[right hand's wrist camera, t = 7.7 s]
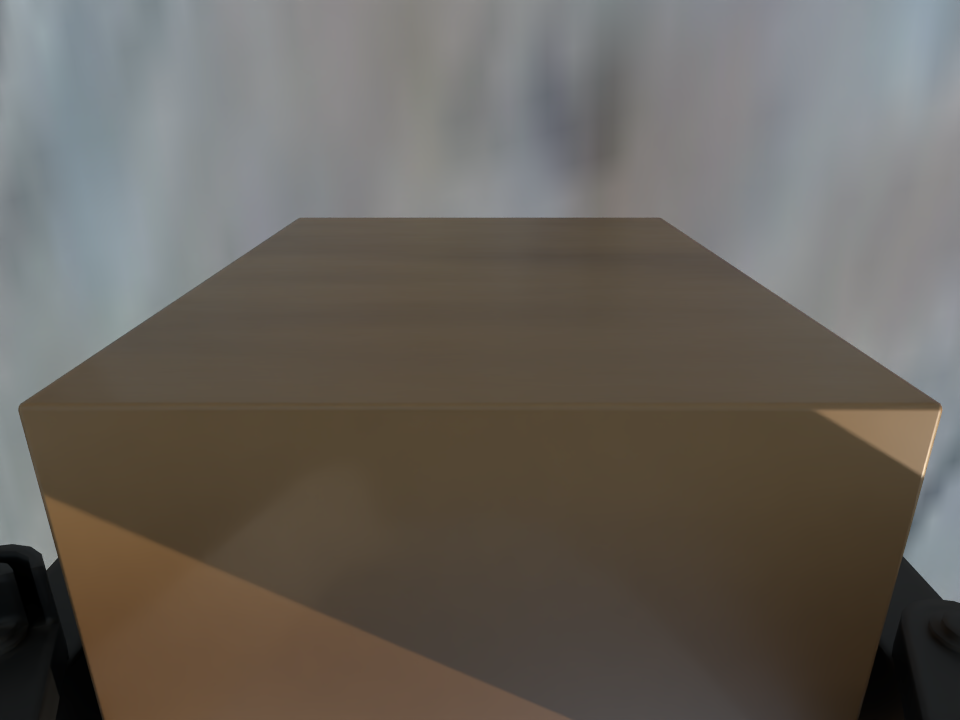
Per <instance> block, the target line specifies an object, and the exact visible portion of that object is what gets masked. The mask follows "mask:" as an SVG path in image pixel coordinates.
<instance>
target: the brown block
mask: <svg viewBox="0 0 960 720" xmlns="http://www.w3.org/2000/svg"><path fill="white" fill-rule="evenodd" d="M941 413H942V406H941V404H940V403H938V402H937V401H935V400H934V399H932V398H931V397H929V396H928V395H926V394H925V393H923V392H922V391H920V390H919V389H917V388H916V387H914V386H913V385H911V384H910V383H908V382H907V381H905V380H904V379H902V378H901V377H899V376H898V375H896V374H895V373H893V372H892V371H890V370H889V369H887V368H886V367H884V366H883V365H881V364H880V363H878V362H877V361H875V360H874V359H872V358H871V357H869V356H868V355H866V354H865V353H863V352H862V351H860V350H859V349H857V348H856V347H854V346H853V345H851V344H850V343H848V342H847V341H845V340H844V339H842V338H841V337H839V336H838V335H836V334H835V333H833V332H832V331H830V330H829V329H827V328H826V327H824V326H822V325H821V324H819V323H818V322H816V321H815V320H813V319H812V318H810V317H809V316H807V315H806V314H804V313H803V312H801V311H800V310H798V309H797V308H795V307H794V306H792V305H791V304H789V303H788V302H786V301H785V300H783V299H782V298H780V297H779V296H777V295H776V294H774V293H773V292H771V291H770V290H768V289H767V288H765V287H764V286H762V285H761V284H759V283H758V282H756V281H755V280H753V279H752V278H750V277H749V276H747V275H746V274H744V273H743V272H741V271H740V270H738V269H737V268H735V267H734V266H732V265H731V264H729V263H728V262H726V261H725V260H723V259H722V258H720V257H719V256H717V255H716V254H714V253H713V252H711V251H710V250H708V249H707V248H705V247H704V246H702V245H701V244H699V243H698V242H696V241H695V240H693V239H692V238H690V237H689V236H687V235H686V234H684V233H683V232H681V231H680V230H678V229H677V228H675V227H674V226H672V225H671V224H669V223H668V222H666V221H665V220H663V219H661V218H299V219H297V220H295V221H294V222H292V223H291V224H289V225H288V226H286V227H285V228H283V229H282V230H280V231H279V232H277V233H276V234H274V235H273V236H271V237H270V238H268V239H267V240H265V241H264V242H262V243H261V244H259V245H258V246H256V247H255V248H253V249H252V250H250V251H249V252H247V253H246V254H244V255H243V256H241V257H240V258H238V259H237V260H235V261H234V262H232V263H231V264H229V265H228V266H226V267H225V268H223V269H222V270H220V271H219V272H217V273H216V274H214V275H213V276H211V277H210V278H208V279H207V280H205V281H204V282H202V283H201V284H200V285H198V286H197V287H195V288H194V289H192V290H191V291H189V292H188V293H186V294H185V295H183V296H182V297H180V298H179V299H177V300H176V301H174V302H173V303H171V304H170V305H168V306H167V307H165V308H164V309H162V310H161V311H159V312H158V313H156V314H155V315H153V316H152V317H150V318H149V319H147V320H146V321H144V322H143V323H141V324H140V325H138V326H137V327H135V328H134V329H132V330H131V331H129V332H128V333H126V334H125V335H123V336H122V337H120V338H119V339H117V340H116V341H114V342H113V343H111V344H110V345H108V346H107V347H105V348H104V349H102V350H101V351H99V352H98V353H96V354H95V355H93V356H92V357H90V358H89V359H87V360H86V361H84V362H83V363H81V364H80V365H78V366H77V367H75V368H74V369H72V370H71V371H69V372H68V373H66V374H65V375H63V376H62V377H60V378H59V379H57V380H56V381H54V382H53V383H51V384H50V385H48V386H47V387H45V388H44V389H42V390H41V391H39V392H38V393H36V394H35V395H33V396H32V397H30V398H29V399H27V400H26V401H24V402H23V403H21V404H20V406H19V415H20V418H21V422H22V426H23V429H24V433H25V437H26V440H27V444H28V448H29V451H30V455H31V459H32V462H33V466H34V470H35V474H36V477H37V481H38V485H39V488H40V492H41V496H42V499H43V503H44V507H45V510H46V514H47V518H48V521H49V525H50V529H51V532H52V536H53V540H54V543H55V547H56V551H57V555H58V558H59V562H60V566H61V569H62V573H63V577H64V580H65V584H66V588H67V591H68V595H69V599H70V602H71V606H72V610H73V613H74V617H75V621H76V624H77V628H78V632H79V636H80V639H81V643H82V647H83V650H84V654H85V658H86V661H87V665H88V669H89V672H90V676H91V680H92V683H93V687H94V691H95V694H96V698H97V702H98V705H99V709H100V713H101V717H102V720H858V719H859V715H860V711H861V708H862V704H863V700H864V696H865V693H866V689H867V685H868V682H869V678H870V674H871V671H872V667H873V663H874V660H875V656H876V652H877V649H878V645H879V641H880V638H881V634H882V630H883V627H884V623H885V619H886V616H887V612H888V608H889V605H890V601H891V597H892V594H893V590H894V586H895V582H896V579H897V575H898V571H899V568H900V564H901V560H902V557H903V553H904V549H905V546H906V542H907V538H908V535H909V531H910V527H911V524H912V520H913V516H914V513H915V509H916V505H917V502H918V498H919V494H920V491H921V487H922V483H923V480H924V476H925V472H926V469H927V465H928V461H929V457H930V454H931V450H932V446H933V443H934V439H935V435H936V432H937V428H938V424H939V421H940V417H941Z"/></svg>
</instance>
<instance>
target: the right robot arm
mask: <svg viewBox="0 0 960 720" xmlns="http://www.w3.org/2000/svg"><path fill="white" fill-rule="evenodd" d="M0 720H102V717H101V713H100V709H99V705H98V702H97V698H96V694H95V691H94V687H93V683H92V680H91V676H90V672H89V669H88V665H87V661H86V658H85V654H84V650H83V647H82V643H81V639H80V636H79V632H78V628H77V624H76V621H75V617H74V613H73V610H72V606H71V602H70V599H69V595H68V591H67V588H66V584H65V580H64V577H63V573H62V569H61V566H60V562H59V558H57V560H56V561H55V562H54V563H53V564H52V565H51V566H50V567H49V568H48V569H47V570H46V568H45V565H44V561H43V558H42V554H41V553H39V552H38V551H36V550H35V549H33V548H32V547H29V546H22V545H15V544H10V545H1V546H0ZM858 720H960V603H958V602H955V601H948V600H943V599H942V598H941V597H940V596H939V595H938V594H937V593H936V592H935V591H934V589H933V588H932V587H931V586H930V585H929V584H928V583H927V582H926V581H925V580H924V579H923V578H922V576H921V575H920V574H919V573H918V572H917V571H916V570H915V569H914V568H913V567H912V566H911V565H910V563H909V562H908V561H907V560H906V559H905V558H904V557H902V560H901V564H900V568H899V571H898V575H897V579H896V582H895V586H894V590H893V594H892V597H891V601H890V605H889V608H888V612H887V616H886V619H885V623H884V627H883V630H882V634H881V638H880V641H879V645H878V649H877V652H876V656H875V660H874V663H873V667H872V671H871V674H870V678H869V682H868V685H867V689H866V693H865V696H864V700H863V704H862V708H861V711H860V715H859V719H858Z"/></svg>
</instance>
